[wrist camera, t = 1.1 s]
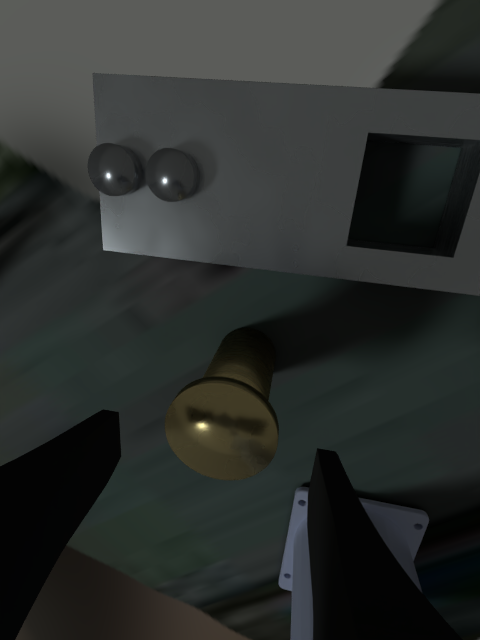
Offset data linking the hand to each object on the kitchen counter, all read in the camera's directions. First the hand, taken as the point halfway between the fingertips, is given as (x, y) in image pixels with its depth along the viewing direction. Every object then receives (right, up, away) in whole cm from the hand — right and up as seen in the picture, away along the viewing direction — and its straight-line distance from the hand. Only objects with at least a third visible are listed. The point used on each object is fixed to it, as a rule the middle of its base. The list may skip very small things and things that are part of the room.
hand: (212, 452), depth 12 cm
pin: (+1, +3, +7) cm, 8 cm away
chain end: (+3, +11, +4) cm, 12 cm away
